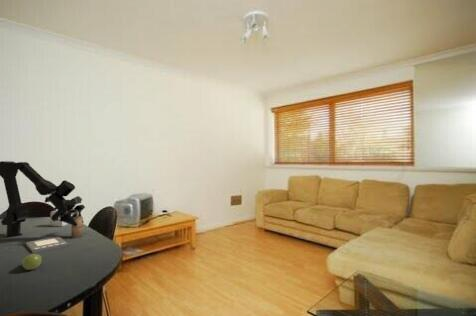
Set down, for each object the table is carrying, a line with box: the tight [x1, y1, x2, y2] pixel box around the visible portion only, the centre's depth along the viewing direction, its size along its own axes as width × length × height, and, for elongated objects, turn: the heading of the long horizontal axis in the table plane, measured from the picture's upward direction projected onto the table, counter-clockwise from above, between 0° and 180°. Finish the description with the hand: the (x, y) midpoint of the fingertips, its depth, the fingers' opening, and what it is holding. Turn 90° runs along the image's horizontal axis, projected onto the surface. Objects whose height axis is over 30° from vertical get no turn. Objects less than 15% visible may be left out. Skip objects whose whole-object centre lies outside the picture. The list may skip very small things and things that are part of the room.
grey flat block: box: [25, 236, 69, 254], centre depth 119 cm, size 16×13×1 cm
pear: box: [21, 253, 43, 271], centre depth 95 cm, size 6×5×10 cm
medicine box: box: [49, 210, 68, 227], centre depth 157 cm, size 8×4×9 cm, turn 84°
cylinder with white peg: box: [71, 212, 84, 239], centre depth 134 cm, size 5×5×13 cm
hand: (79, 224), depth 134 cm, fingers closed on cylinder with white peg, 5 cm apart
